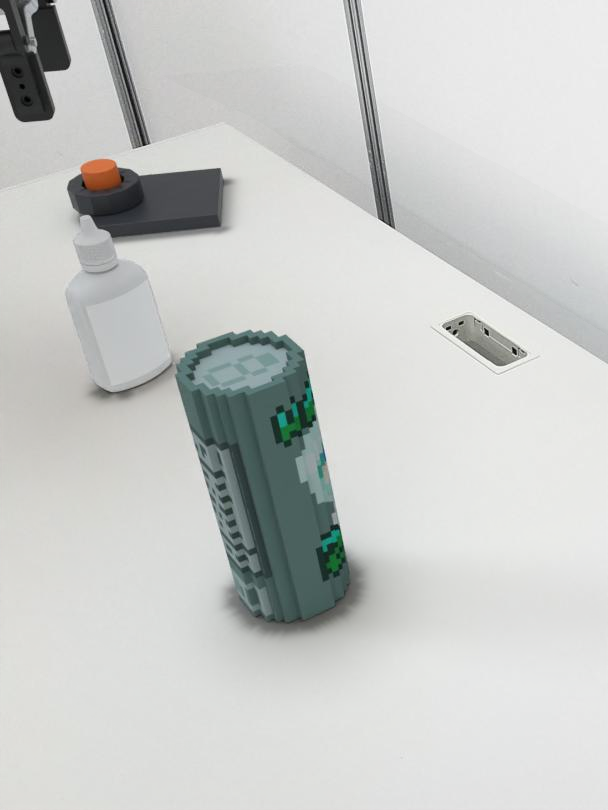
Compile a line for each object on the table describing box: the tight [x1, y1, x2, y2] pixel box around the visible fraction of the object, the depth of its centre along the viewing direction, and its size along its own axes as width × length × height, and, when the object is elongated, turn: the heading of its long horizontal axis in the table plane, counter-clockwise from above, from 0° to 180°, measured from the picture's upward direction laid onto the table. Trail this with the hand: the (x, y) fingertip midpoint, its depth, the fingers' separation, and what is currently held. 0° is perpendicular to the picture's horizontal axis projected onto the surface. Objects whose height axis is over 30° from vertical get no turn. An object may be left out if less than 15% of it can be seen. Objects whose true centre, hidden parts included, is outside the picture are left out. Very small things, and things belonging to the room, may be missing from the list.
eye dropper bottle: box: [64, 214, 173, 393], centre depth 85 cm, size 4×6×12 cm
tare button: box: [79, 158, 122, 190], centre depth 107 cm, size 3×3×2 cm
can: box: [174, 329, 351, 624], centre depth 67 cm, size 6×6×15 cm
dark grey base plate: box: [66, 166, 224, 239], centre depth 109 cm, size 12×10×3 cm
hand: (46, 93), depth 76 cm, fingers open, 8 cm apart
